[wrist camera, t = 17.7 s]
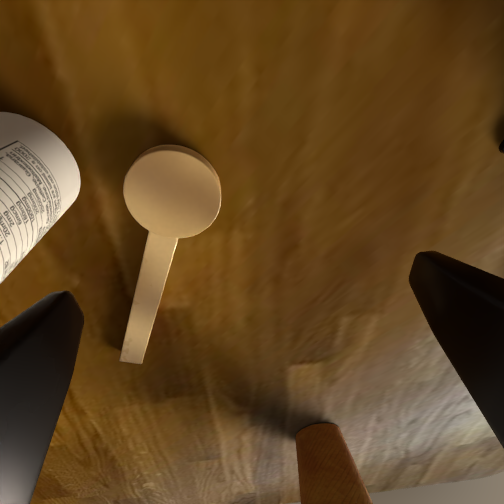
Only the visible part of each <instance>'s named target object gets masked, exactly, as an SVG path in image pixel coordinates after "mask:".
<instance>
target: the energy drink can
mask: <svg viewBox="0 0 504 504" xmlns="http://www.w3.org/2000/svg"><path fill="white" fill-rule="evenodd" d="M80 183H81V182H80V173H79V169H78V166H77V163H76V161H75V159H74V157H73V155H72V153H71V152H70V151H69V149H68V148H67V147H66V145H65V144H64V143H63V142H62V141H61V140H60V139H59V138H58V137H57V136H56V135H55V134H54V133H53V132H51V131H50V130H49V129H47V128H46V127H45V126H43V125H41V124H40V123H38V122H36V121H34V120H32V119H30V118H27V117H24V116H22V115H19V114H14V113H9V112H0V283H1V282H2V281H3V280H4V279H5V278H6V277H7V276H8V275H9V273H10V272H11V271H12V270H13V269H14V268H15V267H16V266H17V265H18V263H19V262H20V261H21V260H22V259H23V258H24V257H25V256H26V255H27V254H28V252H29V251H30V250H31V249H32V248H33V247H34V246H35V245H36V244H37V242H38V241H39V240H40V239H41V238H42V237H43V236H44V235H45V234H46V232H47V231H48V230H49V229H50V228H51V227H52V226H53V225H54V224H55V222H56V221H57V220H58V219H59V218H60V217H61V216H62V215H63V214H64V212H65V211H66V210H67V209H68V208H69V207H70V206H71V205H72V203H73V202H74V201H75V200H76V198H77V196H78V193H79V190H80Z"/></svg>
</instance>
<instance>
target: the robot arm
mask: <svg viewBox="0 0 504 504" xmlns="http://www.w3.org/2000/svg"><path fill="white" fill-rule="evenodd" d="M499 151H500V152H502V153H504V140H503V141H502V142H501V144H500V146H499ZM409 283H410V286H411V288H412V290H413V292H414V294H415V296H416V299H417V301H418V303H419V305H420V307H421V309H422V311H423V313H424V315H425V317H426V320H427V322H428V324H429V326H430V328H431V330H432V332H433V334H434V335H435V337H436V339H437V340H438V342H439V344H440V345H441V347H442V349H443V350H444V352H445V354H446V355H447V357H448V358H449V360H450V362H451V363H452V365H453V367H454V368H455V370H456V371H457V373H458V375H459V376H460V378H461V380H462V381H463V383H464V385H465V386H466V388H467V389H468V391H469V393H470V394H471V396H472V398H473V399H474V401H475V402H476V404H477V406H478V407H479V409H480V411H481V412H482V414H483V415H484V417H485V419H486V420H487V422H488V424H489V425H490V427H491V429H492V430H493V432H494V433H495V435H496V437H497V438H498V440H499V442H500V443H501V445H502V446H503V448H504V279H503V278H500V277H498V276H495V275H493V274H490V273H488V272H485V271H483V270H480V269H478V268H476V267H473V266H471V265H468V264H466V263H463V262H461V261H458V260H456V259H453V258H451V257H448V256H446V255H444V254H441V253H439V252H436V251H426V252H419V253H418V254H417V255H416V256H415V259H414V262H413V265H412V268H411V272H410V275H409ZM83 325H84V315H83V312H82V310H81V308H80V307H79V305H78V303H77V301H76V299H75V297H74V295H73V294H72V293H71V292H70V291H60V292H52V293H50V294H48V295H47V296H45V297H44V298H43V299H41V300H40V301H38V302H37V303H35V304H34V305H32V306H31V307H30V308H28V309H27V310H25V311H24V312H22V313H21V314H19V315H18V316H17V317H15V318H14V319H12V320H11V321H9V322H8V323H6V324H5V325H3V326H2V327H1V328H0V504H30V501H31V498H32V495H33V492H34V489H35V486H36V483H37V480H38V477H39V474H40V471H41V468H42V465H43V462H44V459H45V457H46V454H47V451H48V448H49V445H50V442H51V439H52V436H53V433H54V430H55V427H56V424H57V421H58V418H59V415H60V412H61V409H62V406H63V403H64V400H65V397H66V394H67V391H68V388H69V385H70V382H71V378H72V375H73V371H74V366H75V362H76V357H77V352H78V348H79V343H80V338H81V334H82V329H83Z"/></svg>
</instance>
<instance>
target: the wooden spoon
mask: <svg viewBox="0 0 504 504" xmlns="http://www.w3.org/2000/svg"><path fill="white" fill-rule="evenodd" d="M123 195H124V200H125V203H126V206H127V208H128V210H129V212H130V213H131V215H132V216H133V217H134V219H135V220H136V221H137V222H138V223H139V224H140V225H141V226H143V227H144V228H146V229H147V230H149V232H148V237H147V241H146V246H145V250H144V254H143V259H142V263H141V267H140V272H139V276H138V281H137V285H136V289H135V294H134V298H133V303H132V307H131V311H130V316H129V320H128V324H127V329H126V333H125V338H124V342H123V346H122V351H121V355H120V360H119V361H123V362H130V363H137V364H142V361H143V358H144V354H145V351H146V347H147V344H148V340H149V337H150V334H151V330H152V327H153V323H154V320H155V317H156V313H157V310H158V306H159V303H160V299H161V296H162V293H163V289H164V286H165V282H166V279H167V275H168V272H169V269H170V265H171V262H172V258H173V255H174V252H175V248H176V245H177V241H178V238H186V237H190V236H194V235H196V234H198V233H200V232H202V231H204V230H205V229H207V228H208V227H209V226H210V225H211V224H212V223H213V221H214V220H215V218H216V217H217V215H218V212H219V210H220V206H221V186H220V181H219V178H218V175H217V173H216V171H215V170H214V168H213V167H212V165H211V164H210V163H209V162H208V161H207V160H206V159H205V158H204V157H203V156H202V155H200V154H199V153H197V152H195V151H194V150H192V149H189V148H187V147H183V146H179V145H160V146H156V147H153V148H150V149H148V150H146V151H145V152H143V153H142V154H141V155H139V156H138V157H137V159H136V160H135V161H134V162H133V164H132V165H131V167H130V168H129V170H128V171H127V174H126V176H125V179H124V184H123Z"/></svg>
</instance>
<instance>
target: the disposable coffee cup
mask: <svg viewBox="0 0 504 504" xmlns="http://www.w3.org/2000/svg"><path fill="white" fill-rule="evenodd" d="M295 439H296V450H297V461H298V473H299V484H300V496H301V504H373V503H372V500H371V498H370V496H369V494H368V492H367V489H366V487H365V485H364V482H363V480H362V478H361V476H360V473H359V471H358V469H357V467H356V464H355V462H354V460H353V458H352V455H351V453H350V451H349V449H348V447H347V444H346V442H345V440H344V437H343V435H342V433H341V431H340V428H339V427H338V426H337V425H334V424H330V423H320V424H314V425H310V426H308V427H306V428H304V429H302V430H300V431H299V432H298V433H297V435H296V437H295Z"/></svg>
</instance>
